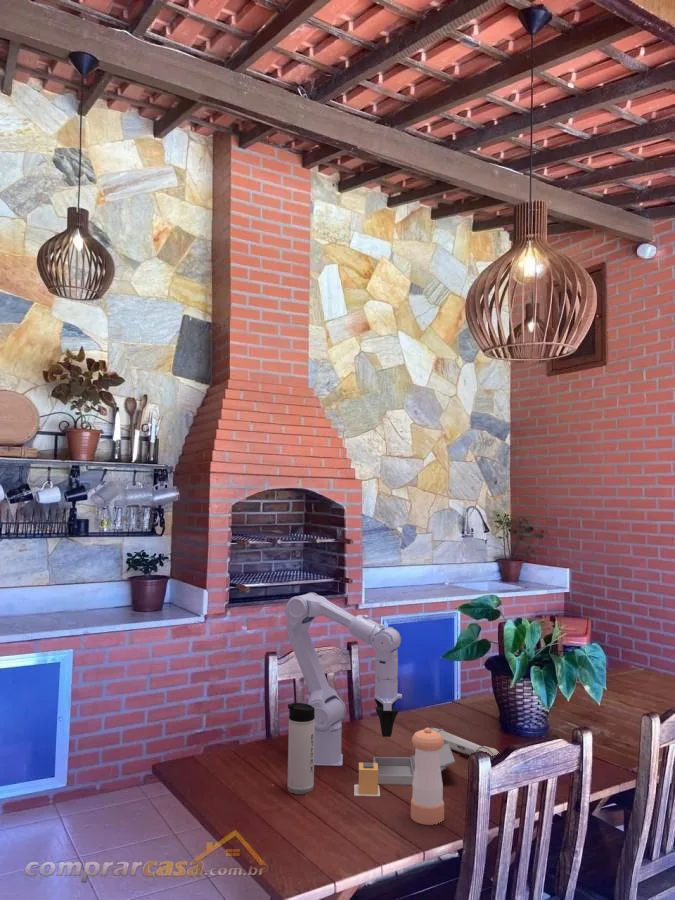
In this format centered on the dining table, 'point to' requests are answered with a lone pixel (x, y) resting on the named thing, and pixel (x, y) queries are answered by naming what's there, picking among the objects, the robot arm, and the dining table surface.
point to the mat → (356, 793)
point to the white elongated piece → (463, 744)
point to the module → (368, 778)
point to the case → (406, 767)
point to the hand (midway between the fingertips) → (385, 731)
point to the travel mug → (301, 748)
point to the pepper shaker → (427, 778)
